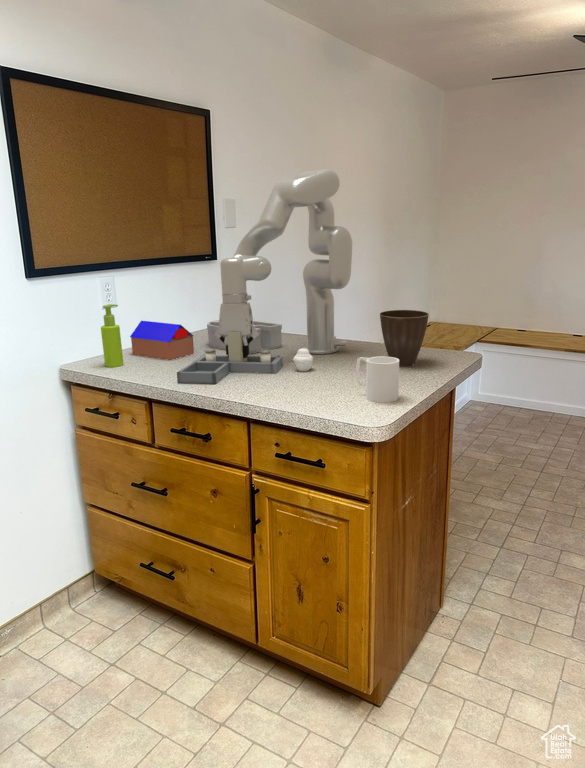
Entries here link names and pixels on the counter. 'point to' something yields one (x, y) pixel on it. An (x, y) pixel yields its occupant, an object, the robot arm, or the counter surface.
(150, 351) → the house
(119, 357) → the soap dispenser
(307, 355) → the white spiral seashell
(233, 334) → the skincare box
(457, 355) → the counter surface
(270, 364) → the grey rectangular frame
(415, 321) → the plant pot
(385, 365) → the cup
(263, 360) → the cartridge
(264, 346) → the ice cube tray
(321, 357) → the counter surface
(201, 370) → the tray
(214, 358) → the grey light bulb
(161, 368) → the counter surface
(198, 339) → the counter surface
